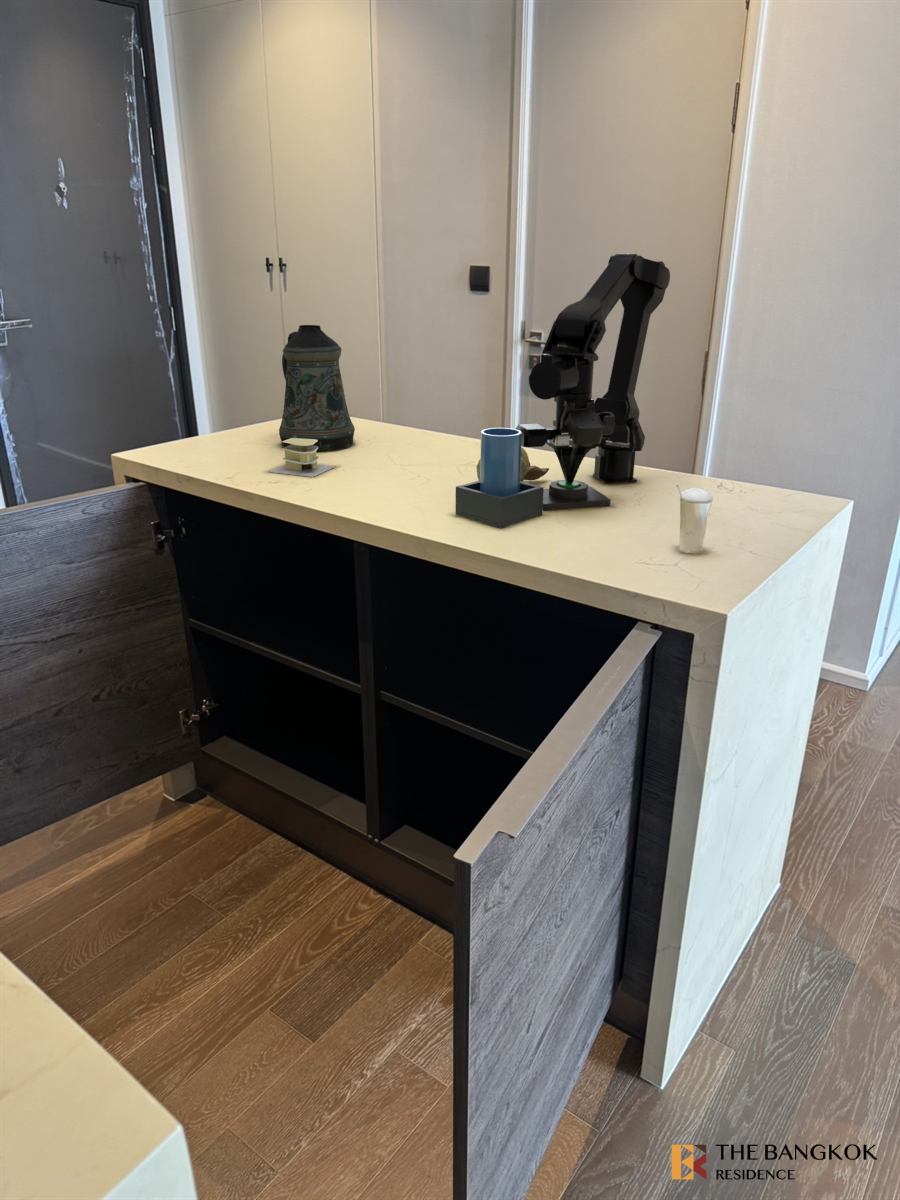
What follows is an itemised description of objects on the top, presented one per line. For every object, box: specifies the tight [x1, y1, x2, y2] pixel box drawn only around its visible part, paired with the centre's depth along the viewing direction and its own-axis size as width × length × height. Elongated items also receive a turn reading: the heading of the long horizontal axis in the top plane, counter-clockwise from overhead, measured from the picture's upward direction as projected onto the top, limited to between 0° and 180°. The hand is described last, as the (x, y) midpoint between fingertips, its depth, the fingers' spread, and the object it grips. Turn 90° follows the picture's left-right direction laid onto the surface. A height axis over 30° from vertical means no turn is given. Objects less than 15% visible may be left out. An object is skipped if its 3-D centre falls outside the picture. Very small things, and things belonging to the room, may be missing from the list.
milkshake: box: [676, 483, 714, 555], centre depth 125 cm, size 4×5×10 cm
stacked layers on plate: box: [269, 438, 337, 478], centre depth 169 cm, size 10×9×6 cm
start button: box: [558, 480, 579, 488], centre depth 149 cm, size 4×4×2 cm
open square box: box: [455, 480, 545, 529], centre depth 141 cm, size 10×10×5 cm
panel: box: [542, 479, 611, 512], centre depth 149 cm, size 12×9×3 cm
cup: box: [479, 427, 522, 497], centre depth 140 cm, size 6×6×13 cm
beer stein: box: [278, 324, 356, 453], centre depth 187 cm, size 16×19×25 cm
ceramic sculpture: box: [476, 446, 550, 482], centre depth 158 cm, size 11×9×15 cm
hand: (569, 483), depth 149 cm, fingers closed, pressing on start button
